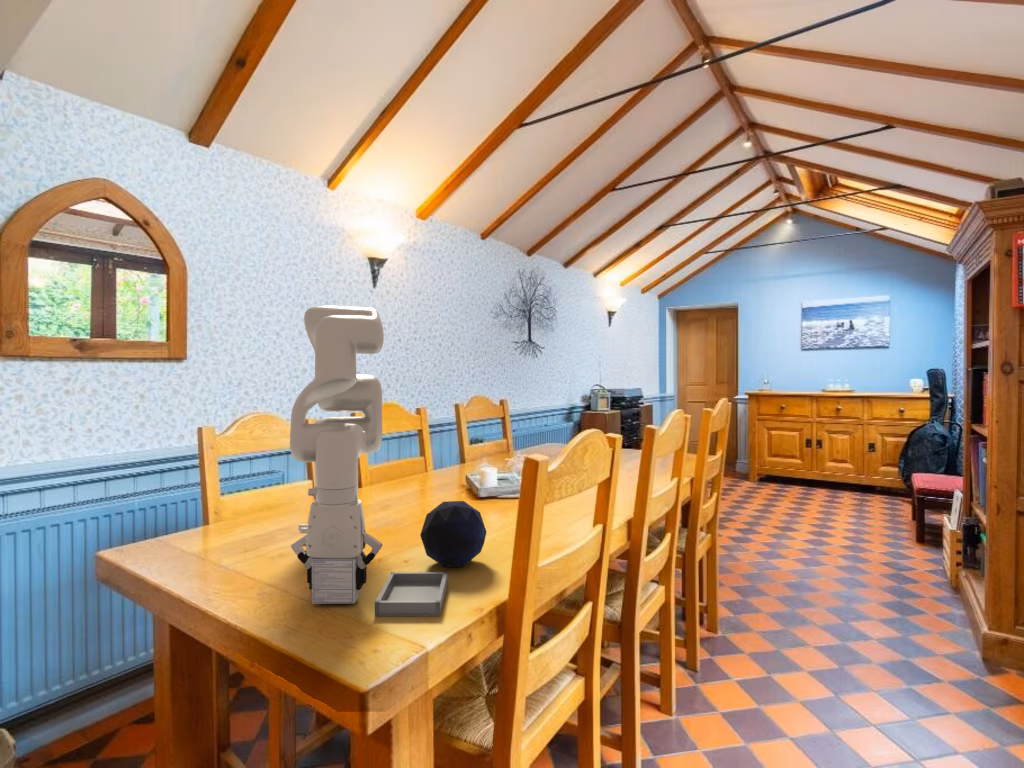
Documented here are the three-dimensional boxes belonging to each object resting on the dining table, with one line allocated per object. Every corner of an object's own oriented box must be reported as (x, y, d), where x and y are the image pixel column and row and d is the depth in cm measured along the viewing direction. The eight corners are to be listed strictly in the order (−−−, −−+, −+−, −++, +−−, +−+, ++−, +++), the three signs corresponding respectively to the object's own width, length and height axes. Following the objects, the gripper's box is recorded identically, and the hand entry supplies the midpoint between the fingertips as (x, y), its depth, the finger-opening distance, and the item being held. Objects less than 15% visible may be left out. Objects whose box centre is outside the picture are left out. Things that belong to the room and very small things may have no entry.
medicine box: (360, 594, 105) (360, 550, 105) (354, 604, 100) (354, 558, 100) (319, 594, 105) (319, 549, 104) (311, 604, 100) (311, 558, 100)
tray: (374, 616, 97) (374, 602, 97) (391, 584, 112) (391, 572, 112) (439, 616, 98) (439, 602, 97) (447, 584, 112) (447, 572, 112)
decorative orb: (469, 525, 136) (439, 482, 130) (509, 539, 125) (478, 493, 118) (431, 570, 129) (396, 527, 122) (469, 589, 118) (434, 543, 111)
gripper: (282, 499, 98) (282, 595, 99) (379, 500, 99) (379, 595, 99) (297, 489, 106) (297, 578, 106) (388, 490, 106) (387, 579, 107)
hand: (337, 586), depth 103 cm, fingers closed on medicine box, 8 cm apart
